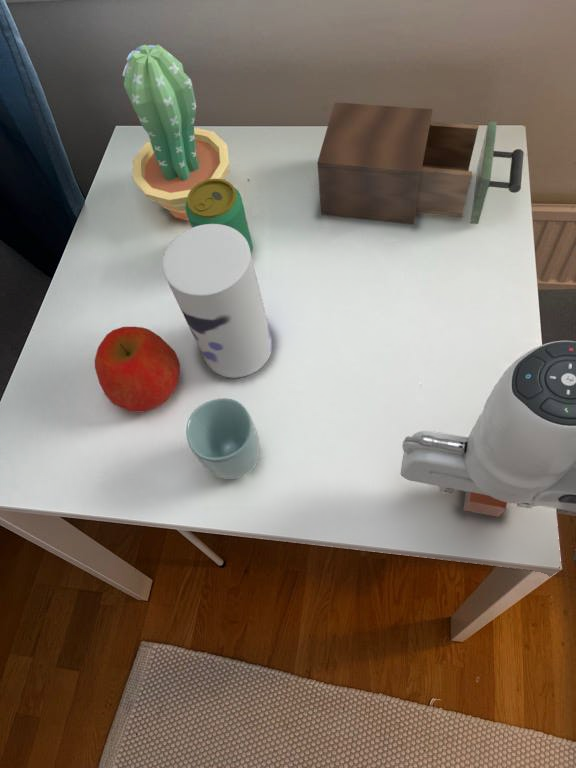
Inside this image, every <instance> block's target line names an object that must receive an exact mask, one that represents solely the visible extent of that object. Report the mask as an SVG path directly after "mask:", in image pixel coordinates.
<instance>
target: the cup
mask: <svg viewBox="0 0 576 768" xmlns="http://www.w3.org/2000/svg"><path fill="white" fill-rule="evenodd" d="M185 435H186V440H187V444H188V447H189V448H190V450H191V452H192V454H193V455H194V456H195V459H197V461H198V462H199V463H200V464H201V465H202V467H203V468H204V469H205V470H206V471H207V472H209V473H210V474H211V475H212V476H214V477H216V478H219V479H222V480H223V479H224V480H234V479H239V478H241V477H245V476H246V475H248V474H249V473H251V471H253V470H254V468H255V467H256V466H257V464H258V461H259V458H260V451H261V449H260V448H261V446H260V440H259V439H260V438H259V435H258V432H257V429H256V426H255V424H254V421H253V418H252V416H251V415H250V412H249V411H248V409H247V408H246V407H245V405H243V404H242V403H241V402H239V401H238V400H235V399H232V398H226V397H224V398H223V397H221V398H215V399H210V400H208V401H206V402H203V403H202V404H200V405H199V406H197V407H196V408H195V409H194V410H193V411H192V413H191V414H190V415H189V417H188V419H187V421H186V429H185Z"/></svg>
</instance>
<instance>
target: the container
mask: <svg viewBox="0 0 576 768" xmlns="http://www.w3.org/2000/svg"><path fill="white" fill-rule="evenodd" d="M162 273H163V275H164V278H165V280H166V281H167V283H168V286H169V288H170V290H171V292H172V294H173V296H174V298H175V300H176V303H177V305H178V307H179V309H180V311H181V313H182V315H183V317H184V319H185V322H186V324H187V326H188V328H189V330H190V332H191V334H192V336H193V338H194V340H195V342H196V345H197V346H198V349H199V350H200V352H201V355H202V357H203V358H204V362H205V363H206V365H207V366H208V368H209V369H210V370H212V371H213V372H214V373H216V374H218V375H219V376H222V377H226V378H232V379H233V378H235V379H236V378H243V377H247V376H249V375H252V374H254V373H256V372H257V371H259V370H260V369H261V368H263V367H264V366H265V364H266V363H267V362H268V360H269V359H270V357H271V355H272V351H273V345H274V344H273V338H272V332H271V329H270V324H269V321H268V317H267V313H266V308H265V305H264V302H263V297H262V292H261V288H260V284H259V281H258V276H257V272H256V268H255V263H254V260H253V256H252V253H251V252H250V248H249V245H248V242H247V240H246V239H245V238H244V236H243V235H242V234H241V233H240V232H238V231H237V230H235V229H233V228H231V227H229V226H225V225H221V224H205V225H199V226H196V227H193V228H192V227H191V228H189V229H186V230H184V231H183V232H182V233H180V234H179V235H177V236H176V237H175V238H174V239H173V240H172V241H171V242H170V243H169V244H168V246H167V248H166V249H165V252H164V253H163V257H162Z"/></svg>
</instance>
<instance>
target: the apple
mask: <svg viewBox="0 0 576 768" xmlns="http://www.w3.org/2000/svg"><path fill="white" fill-rule="evenodd" d="M180 364H181V363H180V360H179V358H178V355H177V352H176V351H175V349H173V348H172V347H171V346H170V344H169V343H167V342H166V341H165V340H164V339H163V338H162V337H161V336H160V335H159V334H157V333H155V332H154V331H152V330H151V329H148V328H145V327H142V326H121V327H119V328H115V329H112V330H111V331H109V332H108V333H107V334H106V335H105V336H104V338H103V339H102V341H101V342H100V344H99V345H98V346H97V350H96V354H95V358H94V369H95V373H96V377H97V379H98V383H99V385H100V388H101V390H102V392H103V394H104V396H106V398H108V400H109V401H110V402H111V403H112V404H113V405H114V406H117V407H119V408H120V409H123V410H125V411H128V412H135V413H136V412H139V413H145V412H148V411H151V410H154V409H156V408H158V407H161V406H162V405H163V404H164V403H166V401H167V400H168V399H169V398H170V397H171V396H172V395H173V394H174V393H175V391H176V389H177V388H178V387H177V386H178V383H179V382H178V381H179V377H180V372H181V366H180Z"/></svg>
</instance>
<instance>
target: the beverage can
mask: <svg viewBox="0 0 576 768" xmlns="http://www.w3.org/2000/svg"><path fill="white" fill-rule="evenodd" d="M185 209H186V214H187V216H188V219H189V220H188V222H189V224H190V227H191V228H193V227H196V226H199V225H205V224H221V225H225V226H229V227H231V228H233V229H235V230H237V231H238V232H240V233H241V234H242V235H243V236H244V238H245V239H246V240H247V242H248V245H249V248H250V252H251V254H252V253H253V250H254V247H253V240H252V235H251V232H250V228H249V223H248V220H247V215H246V214H247V213H246V210H245V206H244V202H243V197H242V195H241V193H240V191H239V189H237V188H236V187H235V186H234V185H233V184H232V183H231V182H229V181H227V180H225V179H224V180H223V179H208V180H205V181H202V182H200V183H198V184H197V185H195V186H194V187H193V188H192V189H191V191H190V192H189V194H188V197H187V202H186V207H185Z"/></svg>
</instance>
